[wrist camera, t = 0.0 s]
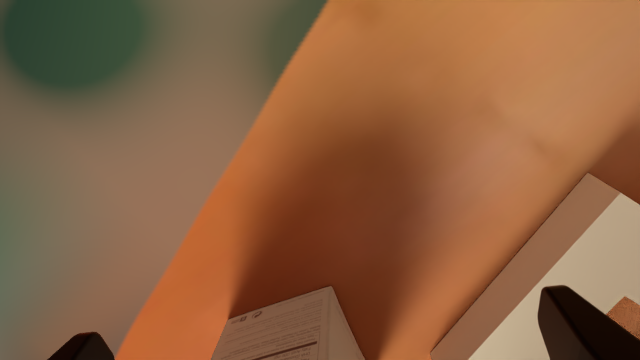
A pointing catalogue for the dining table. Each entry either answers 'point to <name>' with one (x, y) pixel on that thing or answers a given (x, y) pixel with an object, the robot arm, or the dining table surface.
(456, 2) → the dining table surface
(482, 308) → the socket
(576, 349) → the robot arm
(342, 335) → the supplement box
